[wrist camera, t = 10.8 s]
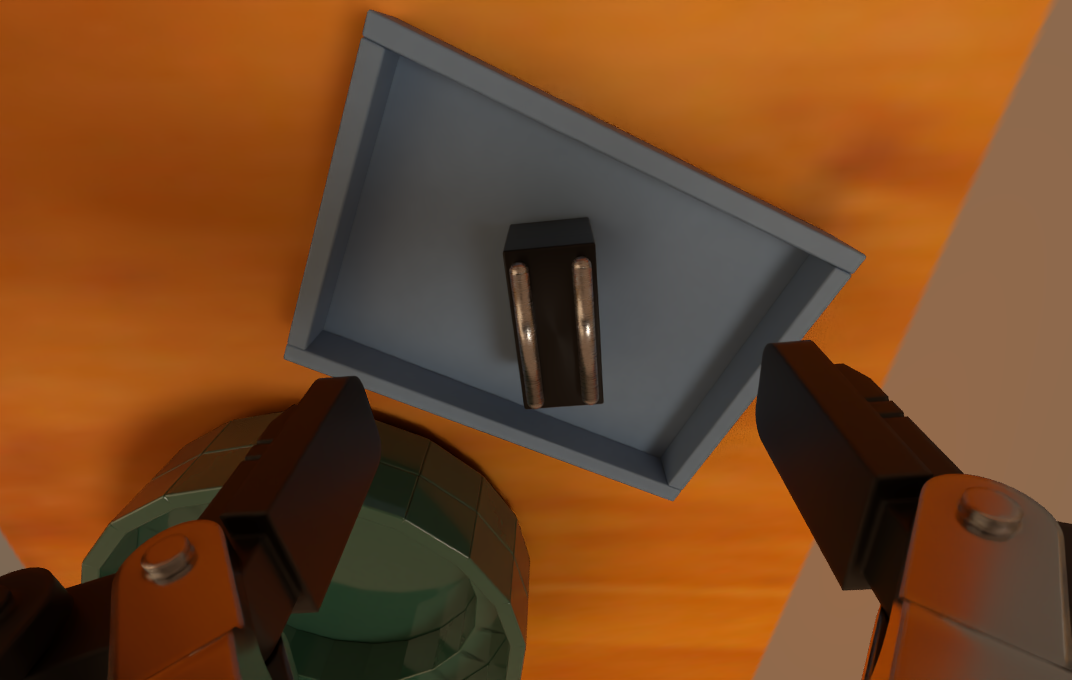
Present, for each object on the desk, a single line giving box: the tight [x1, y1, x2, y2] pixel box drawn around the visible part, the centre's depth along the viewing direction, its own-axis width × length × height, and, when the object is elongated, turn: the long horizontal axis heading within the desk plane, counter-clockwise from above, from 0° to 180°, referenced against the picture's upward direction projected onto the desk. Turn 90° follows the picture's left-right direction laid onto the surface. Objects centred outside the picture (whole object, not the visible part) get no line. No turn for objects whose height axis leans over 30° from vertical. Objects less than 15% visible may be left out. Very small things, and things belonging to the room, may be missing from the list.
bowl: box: [81, 411, 530, 680], centre depth 21 cm, size 16×16×4 cm
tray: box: [284, 10, 866, 501], centre depth 16 cm, size 10×14×2 cm
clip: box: [502, 217, 604, 409], centre depth 15 cm, size 5×2×3 cm, turn 6°
